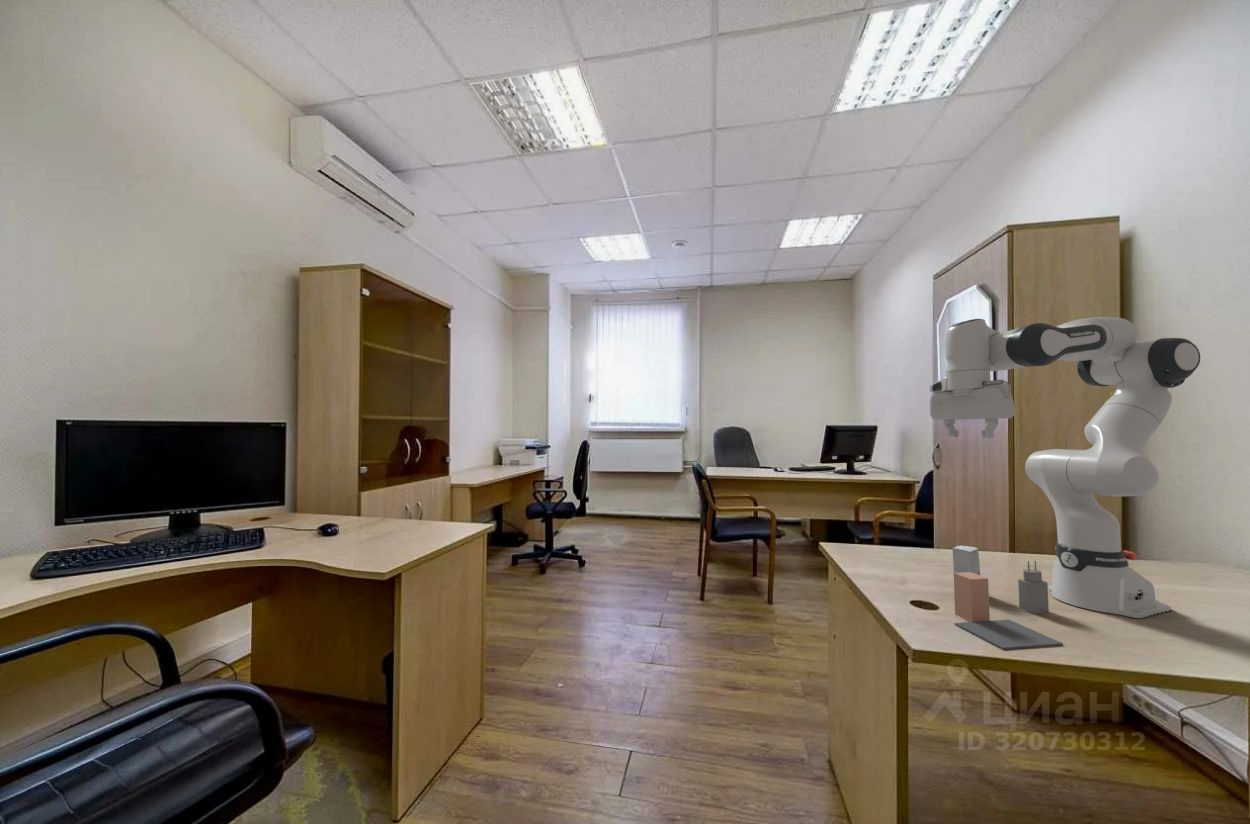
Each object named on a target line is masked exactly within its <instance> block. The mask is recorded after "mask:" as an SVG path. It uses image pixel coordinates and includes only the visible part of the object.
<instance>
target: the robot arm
mask: <svg viewBox="0 0 1250 824" xmlns="http://www.w3.org/2000/svg"><path fill="white" fill-rule="evenodd" d="M1137 338H1138V330H1137V327H1136V326H1135V325H1134V323H1133V322H1131V321H1130V320H1128V319H1125V318H1122V317H1112V316H1099V317H1098V316H1097V317H1095V316H1094V317H1086V318H1080V319H1073V320H1071V321H1067V322H1064V323H1062V324H1061V323H1060V324H1058V325H1056V326H1054V325H1053V324H1052V325H1051V324H1049V323H1044V322H1035V323H1032V324H1028V325H1024V326H1022V327H1019V328H1015V329H1010V330H1006V331H1003V332H1001V331H998V330H995V329H993V328H992V327H990V326H989V325H988V324H987V323H986V320H985V319H984V318H974V319H968V320H965V321H960V322H957V323H953V324H952V325H951V326H950V327H948V328H947V332H946V334H945V345H944V348H945V352H944V353H945V359H946V362H947V368H946V371H945V377H943V378H941V379H940V380H938V381H936V382H934V383H932V384H930V386H929V392H930V393H932V394H931V396H930V398H929V414H930V417H931V418H932V420H934V421H943V426H944V427H945V428H946V431H947V436H948V438H958V437H959V436H960V435H959V430H957V429H956V427H955V424H956V420H984V423H985V424H986V426H985V428H984V430H981V437H982V439H983V438H984V439H985V438H986V439H994V437H995V435H994V433H995V430H996V428H997V427H998V424H999V419H1012V418H1013V417H1014V416H1015V413H1016V411H1015V403H1014V398H1013V394H1012V391H1011V390H1012V389H1011V384H1010V383H1008V382H1007V381H1005V380H1004V379H996V380H991V379H992V378H991V372H1000V371H1007V370H1013V369H1021V368H1029V367H1030V368H1032V367H1043V366H1048V365H1050V364H1053V363H1054V362H1055V361H1058V360H1060V361H1063V362H1077V365H1076V372H1077V375H1078V377H1079V378H1080V379H1081V380H1082V381H1083V382H1084V383H1085V384H1087V385H1089V386H1094V387H1095V386H1097V387H1108V386H1116V387H1115V388H1116V389H1115V392H1114V394H1113V395H1112V396H1110V397H1109V398H1108V399H1107V400H1106V401H1105V402H1104V404H1102V405H1101V407H1100V408H1099V409H1098V411H1097V412H1096V413H1095V414H1094V415H1093V416H1092V418H1091V419H1090V420H1089V421H1088V422H1087V424H1086V425H1085V426H1084V430H1083V432H1084V436H1085V438H1086V440H1087V441H1088V443H1089V444H1091V445H1092V446H1091V447H1090V448H1088V449H1069V448H1068V449H1063V448H1051V449H1046V450H1045V449H1044V450H1038V451H1034V452H1032V453H1031V454H1030V455H1029V456H1027V457H1028V458H1027V459H1026V461H1025V464H1024V466H1025V467H1024V469H1025V473H1026V475H1027V477H1028V479H1029V480H1030V481H1032V482H1033V483H1034V484H1036V485H1037V486H1038V487H1039V488H1040V489H1041V490H1042V491H1043V493H1044V494H1045V495H1046V497H1047V499H1048V500H1049V502H1050V504H1051V507H1052V508H1053V509H1052V510H1053V512H1054V515H1055V521H1056V522H1055V523H1056V534H1057V541H1056V542H1055V546H1054V548H1055V549H1054V550H1055V556H1056V557H1057V559H1055V561H1054V562H1053V569H1052V580H1051V581H1052V582H1051V584H1049V585H1048V591H1049V590H1050V591H1051V592H1050V593H1051V596H1052V597H1053V598H1055V599H1056V600H1058V601H1061V602H1062V603H1063V602H1064V603H1065V604H1069V605H1072V606H1075V607H1078V608H1083V609H1088V610H1091V611H1096V612H1101V613H1108V614H1114V615H1120V616H1124V617H1128V618H1129V617H1130V618H1134V619H1142V618H1145V617H1150V615H1151V616H1154V614H1155V615H1158V614H1157V613H1159V614H1162V613H1161V612H1163V613H1166V612H1165V611H1167V612H1170V611H1169V610H1171V611H1172V606H1171V605H1169V604H1168V603H1165V602H1163V601H1160V600H1157V599H1156V591H1155V587H1154V585H1153V583H1152V582H1151V581H1150V580H1148V579H1147V578H1145V577H1144V576H1143V575H1141V574H1140V573H1139V572H1137V571H1136V570H1134V569H1133V568H1132V567H1130V566H1129V561H1128V560H1131V561H1136V560H1137V558H1138V554H1137V553H1136V552H1133V551H1128V550H1122V547H1121V546H1122V544H1121V542H1122V541H1121V524H1120V522H1119V519H1118V518H1117V516H1116V515H1115V514H1113V513H1112V512H1110V511H1109V510H1107V509H1105V508H1104V507H1103V506H1102V505H1101V504H1100V503H1099V502H1098V500H1097V499H1096V497H1095V495H1102V496H1109V497H1141V496H1145V495H1148V494H1149V493H1150V492H1152V491H1153V490H1154V489H1155V488H1156V486H1157V484H1158V481H1159V471H1158V469H1157V467H1156V466H1155V465H1154V463H1153V462H1152V461H1151V460H1149V458H1147V457H1145V456H1144V454H1143V453H1144V447H1145V446H1146V445H1147V443H1148V442H1149V440H1150V439H1151V437H1152V436H1153V434H1154V433H1155V432H1156V431H1157V429H1159V426H1160V425H1161V424H1162V422H1164V420H1165V418H1166V416H1167V414H1168V413H1169V410H1170V408H1171V406H1172V401H1173V396H1172V394H1171V392H1170V391H1169V389H1173V388H1175V387H1179V386H1181V385H1183V384H1184V383H1185V381H1186V379H1188V378H1190V376H1191V375H1193V373H1194V372H1195V371H1196V370H1197V368H1198V367H1199V365H1200V362H1201V354H1200V349H1199V348H1198V347H1197V346H1196V345H1195V344H1194V343H1193V342H1192V341H1190V340H1189V339H1186V338H1182V337H1163V338H1159V339H1151V340H1143V341H1136V340H1137ZM1168 388H1169V389H1168ZM1094 494H1095V495H1094Z"/></svg>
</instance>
